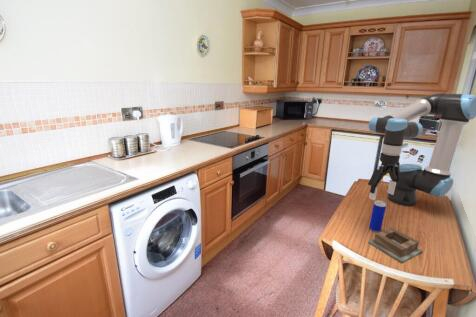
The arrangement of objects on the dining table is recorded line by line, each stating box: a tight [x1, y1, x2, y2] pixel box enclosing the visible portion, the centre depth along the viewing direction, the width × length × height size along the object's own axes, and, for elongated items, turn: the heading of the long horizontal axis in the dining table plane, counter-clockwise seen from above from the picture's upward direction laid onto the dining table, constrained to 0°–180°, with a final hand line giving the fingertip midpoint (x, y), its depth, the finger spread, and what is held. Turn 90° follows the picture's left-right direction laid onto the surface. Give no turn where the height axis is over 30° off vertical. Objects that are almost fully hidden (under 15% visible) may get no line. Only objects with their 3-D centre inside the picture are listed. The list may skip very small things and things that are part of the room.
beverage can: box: [368, 199, 387, 233], centre depth 121 cm, size 5×5×15 cm
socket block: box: [368, 227, 424, 264], centre depth 110 cm, size 15×15×5 cm
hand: (381, 196), depth 118 cm, fingers open, 13 cm apart
